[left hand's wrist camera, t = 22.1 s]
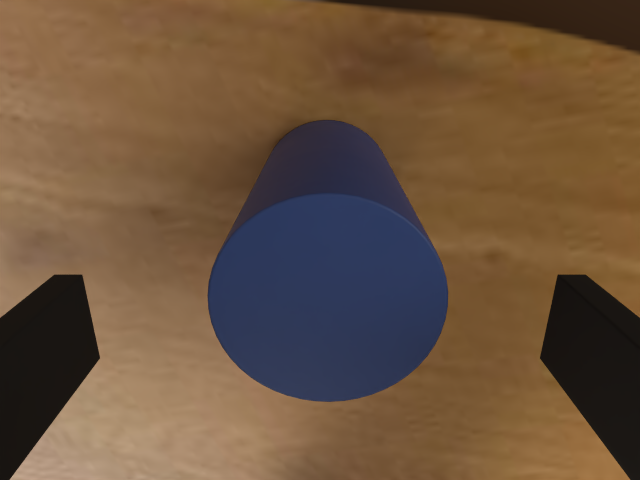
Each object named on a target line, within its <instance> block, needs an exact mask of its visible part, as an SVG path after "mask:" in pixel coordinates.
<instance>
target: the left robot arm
mask: <svg viewBox="0 0 640 480" xmlns="http://www.w3.org/2000/svg"><path fill="white" fill-rule="evenodd" d="M99 359H100V356H99V351H98V346H97V342H96V337H95V332H94V328H93V323H92V318H91V314H90V309H89V304H88V299H87V295H86V290H85V285H84V281H83V276H82V275H53V276H52V277H51V278H50V279H48V280H47V281H46V282H45V283H43V284H42V285H41V286H40V287H38V288H37V289H36V290H35V291H33V292H32V293H31V294H30V295H28V296H27V297H26V298H25V299H23V300H22V301H21V302H20V303H18V304H17V305H16V306H15V307H13V308H12V309H11V310H10V311H8V312H7V313H6V314H5V315H3V316H2V317H1V318H0V480H10V478H11V477H12V476H13V474H14V473H15V472H16V470H17V469H18V468H19V466H20V465H21V464H22V462H23V461H24V460H25V458H26V457H27V455H28V454H29V453H30V451H31V450H32V449H33V447H34V446H35V445H36V443H37V442H38V441H39V439H40V438H41V437H42V435H43V434H44V433H45V431H46V430H47V429H48V427H49V426H50V425H51V423H52V422H53V421H54V419H55V418H56V417H57V415H58V414H59V413H60V411H61V410H62V409H63V407H64V406H65V404H66V403H67V402H68V400H69V399H70V398H71V396H72V395H73V394H74V392H75V391H76V390H77V388H78V387H79V386H80V384H81V383H82V382H83V380H84V379H85V378H86V376H87V375H88V374H89V372H90V371H91V370H92V368H93V367H94V366H95V364H96V363H97V362H98V360H99ZM540 359H541V360H542V362H543V363H544V364H545V366H546V367H547V368H548V370H549V371H550V372H551V374H552V375H553V376H554V378H555V379H556V380H557V382H558V383H559V384H560V386H561V387H562V388H563V390H564V391H565V392H566V394H567V395H568V396H569V398H570V399H571V400H572V402H573V403H574V404H575V406H576V407H577V409H578V410H579V411H580V413H581V414H582V415H583V417H584V418H585V419H586V421H587V422H588V423H589V425H590V426H591V427H592V429H593V430H594V431H595V433H596V434H597V435H598V437H599V438H600V439H601V441H602V442H603V443H604V445H605V446H606V447H607V449H608V450H609V451H610V453H611V454H612V455H613V457H614V458H615V460H616V461H617V462H618V464H619V465H620V466H621V468H622V469H623V470H624V472H625V473H626V474H627V476H628V477H629V478H630V480H640V318H639V317H638V316H637V315H635V314H634V313H633V312H632V311H630V310H629V309H628V308H627V307H625V306H624V305H623V304H622V303H620V302H619V301H618V300H617V299H615V298H614V297H613V296H612V295H610V294H609V293H608V292H607V291H605V290H604V289H603V288H602V287H600V286H599V285H598V284H597V283H595V282H594V281H593V280H592V279H590V278H589V277H588V276H587V275H558V276H557V281H556V285H555V290H554V295H553V299H552V304H551V309H550V314H549V318H548V323H547V328H546V332H545V337H544V342H543V346H542V351H541V356H540Z"/></svg>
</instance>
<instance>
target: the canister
mask: <svg viewBox="0 0 640 480" xmlns="http://www.w3.org/2000/svg"><path fill="white" fill-rule="evenodd" d="M447 307H448V288H447V280H446V276H445V272H444V269H443V265H442V263H441V261H440V258H439V256H438V254H437V252H436V250H435V248H434V246H433V245H432V243H431V241H430V239H429V237H428V235H427V233H426V232H425V230H424V228H423V226H422V224H421V222H420V221H419V219H418V217H417V215H416V213H415V211H414V210H413V208H412V206H411V204H410V202H409V200H408V198H407V197H406V195H405V193H404V191H403V189H402V187H401V186H400V184H399V182H398V180H397V178H396V176H395V175H394V173H393V171H392V169H391V167H390V165H389V163H388V162H387V160H386V158H385V156H384V154H383V152H382V151H381V149H380V148H379V146H378V145H377V144H376V142H375V141H374V140H373V139H372V138H371V137H370V136H369V135H367V134H366V133H365V132H363V131H362V130H360V129H359V128H357V127H355V126H353V125H350V124H347V123H344V122H340V121H334V120H321V121H314V122H310V123H307V124H304V125H301V126H299V127H297V128H295V129H293V130H292V131H291V132H289V133H288V134H286V135H285V136H284V137H283V138H282V139H281V140H280V141H279V142H278V144H277V145H276V146H275V147H274V149H273V151H272V153H271V154H270V156H269V158H268V160H267V162H266V164H265V166H264V168H263V169H262V171H261V173H260V175H259V177H258V179H257V181H256V183H255V185H254V187H253V189H252V190H251V192H250V194H249V196H248V198H247V200H246V202H245V204H244V206H243V208H242V210H241V211H240V213H239V215H238V217H237V219H236V221H235V223H234V225H233V227H232V229H231V230H230V232H229V234H228V236H227V238H226V240H225V242H224V244H223V246H222V248H221V250H220V251H219V253H218V255H217V258H216V260H215V263H214V265H213V267H212V271H211V275H210V279H209V286H208V309H209V314H210V318H211V323H212V325H213V328H214V331H215V334H216V336H217V338H218V340H219V342H220V343H221V345H222V347H223V349H224V350H225V351H226V353H227V354H228V356H229V357H230V358H231V359H232V360H233V362H234V363H235V364H236V365H237V366H238V367H239V368H240V369H241V370H243V371H244V372H245V373H246V374H247V375H249V376H250V377H251V378H253V379H254V380H256V381H257V382H259V383H260V384H262V385H264V386H266V387H268V388H270V389H272V390H274V391H276V392H279V393H282V394H285V395H287V396H291V397H295V398H299V399H304V400H311V401H325V402H332V401H345V400H351V399H357V398H361V397H365V396H368V395H372V394H374V393H377V392H379V391H382V390H384V389H386V388H388V387H390V386H392V385H394V384H396V383H397V382H399V381H400V380H402V379H403V378H405V377H406V376H408V375H409V374H410V373H411V372H412V371H413V370H414V369H416V368H417V367H418V366H419V365H420V364H421V363H422V361H423V360H424V359H425V358H426V357H427V356H428V354H429V353H430V351H431V350H432V348H433V347H434V345H435V344H436V342H437V340H438V338H439V336H440V334H441V331H442V328H443V325H444V322H445V318H446V313H447Z"/></svg>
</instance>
